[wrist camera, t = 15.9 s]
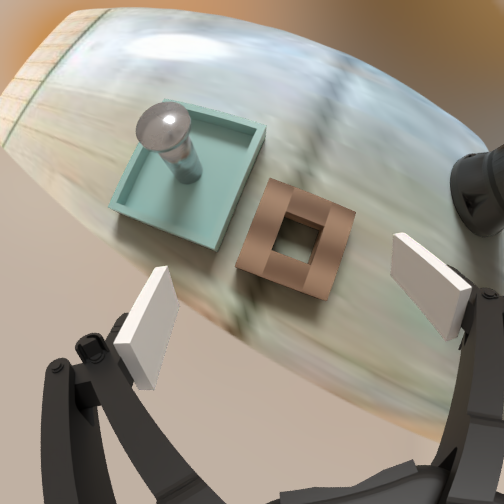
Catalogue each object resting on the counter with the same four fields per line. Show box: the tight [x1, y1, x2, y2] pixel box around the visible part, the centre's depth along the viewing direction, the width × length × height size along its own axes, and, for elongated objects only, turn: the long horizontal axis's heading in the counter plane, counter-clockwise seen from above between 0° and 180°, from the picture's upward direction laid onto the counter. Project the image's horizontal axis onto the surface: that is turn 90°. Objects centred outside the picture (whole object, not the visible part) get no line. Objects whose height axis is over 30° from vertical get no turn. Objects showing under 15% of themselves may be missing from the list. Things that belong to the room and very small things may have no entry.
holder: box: [235, 178, 356, 301], centre depth 36 cm, size 12×12×3 cm
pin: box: [136, 102, 203, 184], centre depth 31 cm, size 6×6×13 cm
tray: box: [108, 99, 267, 252], centre depth 37 cm, size 18×16×4 cm
